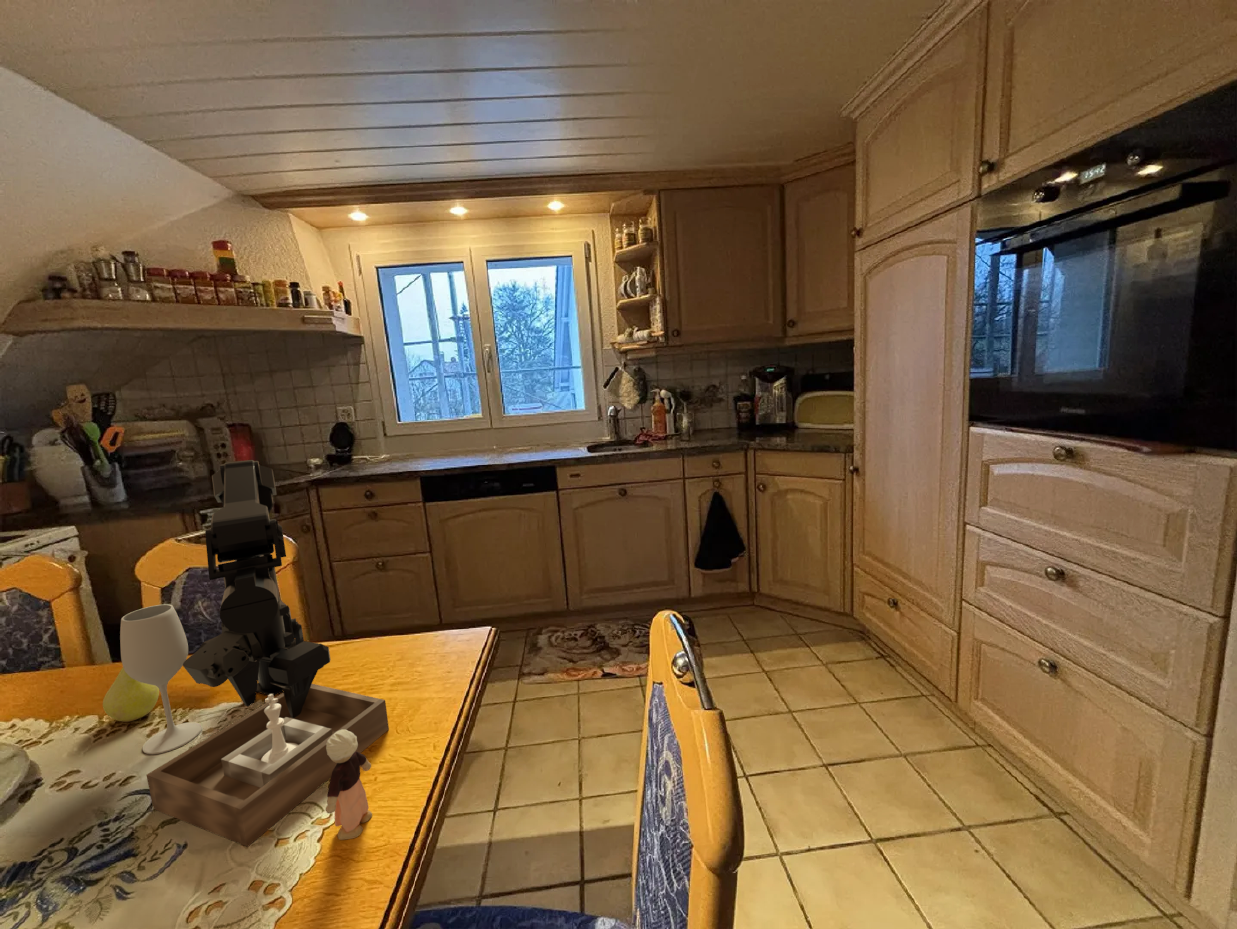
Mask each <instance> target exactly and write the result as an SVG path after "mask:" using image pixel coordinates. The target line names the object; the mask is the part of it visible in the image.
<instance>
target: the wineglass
mask: <svg viewBox="0 0 1237 929" xmlns="http://www.w3.org/2000/svg"><path fill="white" fill-rule="evenodd" d="M181 622H182V621H181V620H180V618H179V616H178V613H177V611H176V609H175V608H174V606H173V604H168V603H167V604H164V603H163V604H157V605H151V606H147V607H143V608H140V609H137V610H134V611H131V612H129V613H127V614H125V615H124V616H122V617H121V619H120V631H119V634H120V635H119V640H120V643H119V644H120V660H121V663H122V668H123V667H124V670H125V672H126V673H127V674H128V675H129V676H130V677H131V678H133V679H135V680H137V681H139V682H142V683H146V684H150V685H155V686H157V687H158V688H159V693H160V695H161V700H162V706H163V710H164V715H165V719H166V720H165V721H166V728H165V729H163V730H160V731H159V732H157V733H155V734H154V735H152V736H151V737H150V738H149V739H147V740H146V741H145V742H144V743H143V745H142V752H143V753H145V754H147V755H158V754H163V753H167V752H170V751H173V750H176V749H179V748H181V747H182V746H185V745H186V744H189V743H190V742H192V741H193V740H194V739H196V738H197V737H198V736H199V735H200V733H201V732H202V731H203V726H202V723H200V722H195V721H188V722H183V723H179V724H176V725H175V722H174V719H173V714H172V710H171V705H170V699H169V695H168V684H169V682H170V680H172V679H173V677H174V676H176V675H177V673H178V672H179V671H180V670H181V669H182V667H183V663H184V662H185V661H186V660H187V659H188V655H189V645H188V639H187V636H186V632H185V630H184V627H183V625H182V623H181Z"/></svg>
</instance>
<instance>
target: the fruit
mask: <svg viewBox="0 0 1237 929" xmlns="http://www.w3.org/2000/svg"><path fill="white" fill-rule="evenodd" d="M159 697H160V690H159V688H158V687H157V686H155V685H150V684H146V683H142V682H139V681H137V680H135V679H133V678H131V677H130V676H129V675H128V674H127V673H126V672H125V670H124V667H123V666H122V668H121V670H120V671H119V673H118V675H117V676H116V678H115V679H114V681H113V683H112V684H111V686H110V688H109V689H108V690H107V692H106V694H105V695H104V697H103V701H102V708H103V711H104V712H105V714H106V715H107V716H108V717H110V719H113V720H114V721H115V720H116V721H118V722H133V721H136V720H140V719H141V718H143V717H144V716H146V715H148V714H149V713H150V712H151V711H152V710H153V708H155V706H156V704H157V702H158V699H159Z"/></svg>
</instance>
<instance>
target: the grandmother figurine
mask: <svg viewBox="0 0 1237 929" xmlns="http://www.w3.org/2000/svg"><path fill="white" fill-rule="evenodd" d="M357 747H358V742H357V737H356V736H355V735H354V734H353V733H352V732H350V731H348V730H344V729H342V730H339V731H337V732H335V733H334V734H333V735H332V736H331V737H330V738H329V740H328V741H327V744H326V750H327V755H329V757H330V758H331V760H332V761H333V762H335V763H337V764H336V766H335V768H334V769H333V771H332V774H331V778H330V780H329V785H328V789H327V793H326V794H327V795H326V796H327V798H326V799H327V800H326V804H327V805H326V807H325V812H326V813H327V814H333V813H334V826H335V827H337V828H338V827H340V829H339V830H338V833H337V839H338V840H340V841H344V840H349V839H355V838H358V836H361V834H362V832H363V830H364V828H363V826H362V825H360V824H363V823H366V822H368V821H369V820H371V818H372V817H373V813H372V811H370V810H369V802H368V798H367V792H366V789H365V788H364V785H363V783H362V781H361V778H360V777H361V769H362V771H365V772H367V771H370V770H371V768H372V763H371V762H369V759H367V756H366V755H365V754H363V753H362V752H361V753H359V752H356V749H357Z"/></svg>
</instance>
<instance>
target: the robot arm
mask: <svg viewBox="0 0 1237 929" xmlns="http://www.w3.org/2000/svg"><path fill="white" fill-rule="evenodd" d="M259 463H260V462H259V460H253V459H246V460H240V461H238V460H237V461H236V460H235V461H229V462H225V463H223V464H220V465H219V470H218V471H217V472H215V473H213V474H212V475H211V479H212V488H213V494H214V495H213V496H214V499H216V502H217V503H221V504H222V508H220V509H219V510H217V511H214V513H212V515H211V521H210V528H207V529H205V531H204V532H205V533H204V534H205V547H206V548H205V549H206V558H207V567H208V568H207V569H208V578H209V581H213V580H216V579H222V578H223V584H224V591H223V596H222V600H221V604H220V608H219V618H220V619H219V620H220V621H221V625H220V626H221V633H220V634H219V635H216V636H214V637H213V638H210V639H208V640H205V641H203V642H202V643H201V644H200V646H199V647H198V650H196V652H194V653H193V654H192V655H190V656H189V657H187V659H186V661H185V662H184V663H183V666H182V667H183V668H184V669H185V670H186V672H187V673H188V674H189V675H190V676H191V678H192V679H193V680H194V682H195V683H196V684H198V685H200V684H203V685H205V686H209V687H210V688H216V687H219V686H221V685H223V684H225V682H226V681H229V682H230V683H231V685H232V687H233V688H234V691H236V693H237V694H238V697H239V698H240V700H241V701H242V702H243V704H244V705H245V706H246V707H250V706H252V705H254V704H255V702H256V698H257V693H258V694H263V695H266V696H268V695H270V694H273V696H274V697H276V696H278V694H279V695H280V694H282V693H284V697H285V700H286V704H287V707H288V710H289V713H290V715H291V717H292V718H295V717H297V716H298V715H300V713H301V711H302V708H303V705H304V703H305V700H306V697H307V695H308V692H309V689H310V687H311V684H313V682H314V679H315V677H316V675H317V673H318V672H319V671H320V670H321V669H322V668H324V667H325V666H327V665H328V664H329V663H331V653H330V648H329V646H327V645H325V644H322V643H319V642H317V643H316V642H311V641H306V640H304V633H303V627H302V624H300V622H298V621H297V618H292V615H291V609H290V607H289V605H287V604H286V603H285V602H284V601H283V600H282V599H281V598H280V593H279V592H280V591H279V587H278V585H279V584H278V581H277V580H278V578H277V573H276V568H278V567H279V568H280V567H282V566H283V561H282V558H285V557H287V554H286V553H287V552H286V547H285V540H284V532H283V526H282V525H280V524H279V522H278V520H276V518H271V519H270V512H271V511H272V508H273V506H274V499H273V496H277V489H276V482H275V477H274V476H275V475H274V471H273V468H270V467H267V466H264V465H261V464H259ZM274 552H275V557H273V553H274ZM216 557H217V558H216ZM216 560H217V561H216ZM217 562H218V564H217ZM217 567H218V568H217Z"/></svg>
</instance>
